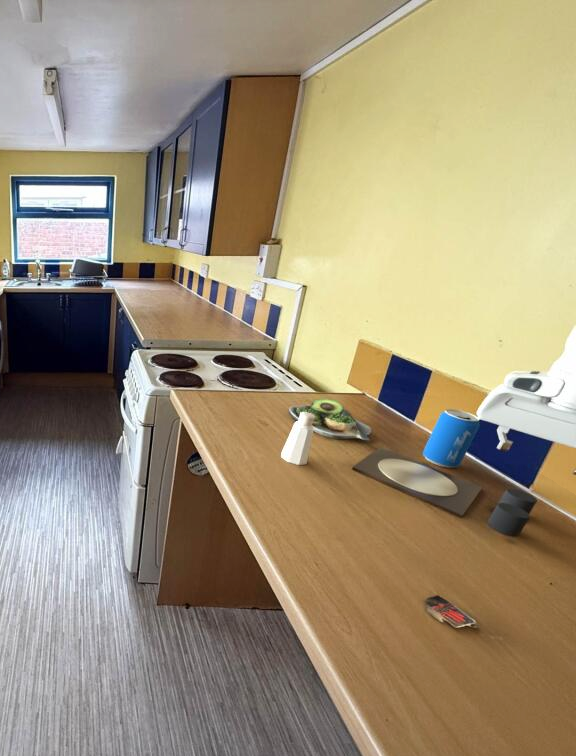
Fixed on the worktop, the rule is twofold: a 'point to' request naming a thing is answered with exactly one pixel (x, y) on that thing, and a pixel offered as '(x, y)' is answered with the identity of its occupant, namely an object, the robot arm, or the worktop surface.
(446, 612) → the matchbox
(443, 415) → the beverage can
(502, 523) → the dot right
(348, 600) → the worktop surface
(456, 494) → the board
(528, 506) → the dot left
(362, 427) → the salad plate
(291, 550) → the worktop surface
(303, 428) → the pepper shaker
